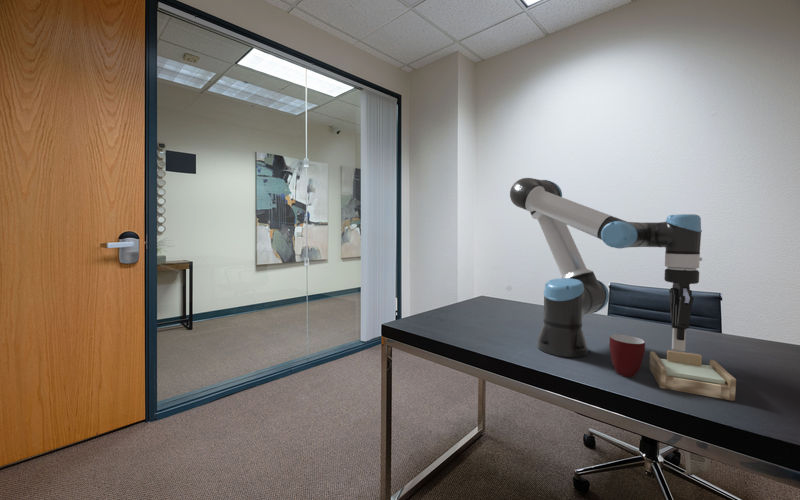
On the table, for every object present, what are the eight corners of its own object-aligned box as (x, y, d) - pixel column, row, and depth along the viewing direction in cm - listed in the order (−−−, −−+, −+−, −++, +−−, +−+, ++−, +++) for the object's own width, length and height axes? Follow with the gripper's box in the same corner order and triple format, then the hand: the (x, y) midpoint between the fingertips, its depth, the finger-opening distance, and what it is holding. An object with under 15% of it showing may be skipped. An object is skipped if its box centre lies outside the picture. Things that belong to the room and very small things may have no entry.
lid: (666, 375, 84) (666, 360, 84) (657, 361, 93) (657, 348, 93) (724, 384, 79) (725, 369, 79) (709, 369, 88) (710, 355, 88)
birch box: (660, 387, 84) (661, 367, 83) (649, 368, 95) (650, 351, 95) (734, 401, 77) (736, 379, 77) (713, 379, 89) (714, 360, 88)
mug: (600, 363, 99) (602, 331, 98) (631, 366, 97) (633, 333, 96) (614, 379, 88) (616, 342, 88) (649, 382, 86) (651, 345, 86)
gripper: (707, 271, 86) (703, 359, 87) (691, 267, 98) (688, 345, 99) (671, 270, 90) (667, 355, 91) (659, 266, 101) (656, 341, 102)
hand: (678, 349), depth 95 cm, fingers closed
